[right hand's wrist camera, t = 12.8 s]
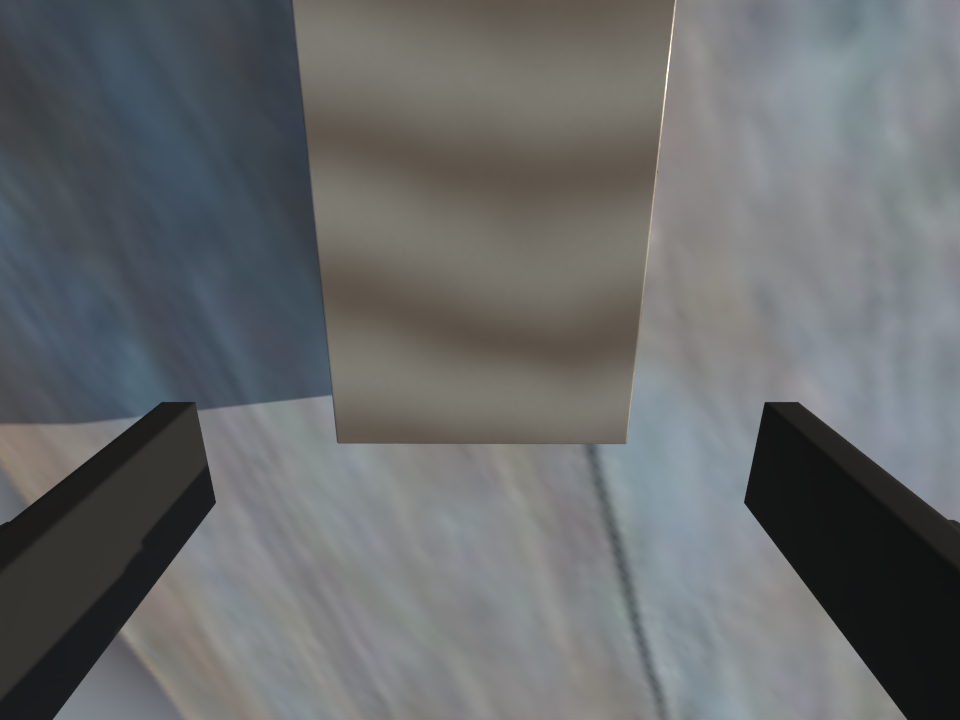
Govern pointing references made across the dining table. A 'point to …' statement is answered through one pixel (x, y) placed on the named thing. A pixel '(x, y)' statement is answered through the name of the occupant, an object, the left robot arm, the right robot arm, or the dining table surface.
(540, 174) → the cabinet
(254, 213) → the dining table surface
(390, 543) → the dining table surface
